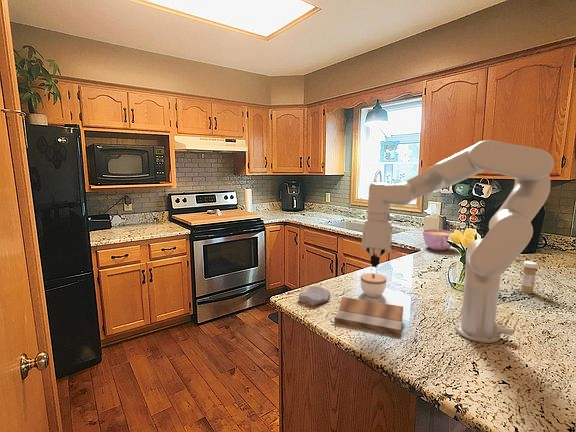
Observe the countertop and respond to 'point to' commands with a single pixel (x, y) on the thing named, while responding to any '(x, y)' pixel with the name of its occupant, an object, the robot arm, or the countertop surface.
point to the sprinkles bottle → (528, 277)
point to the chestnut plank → (371, 308)
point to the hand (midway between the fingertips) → (374, 266)
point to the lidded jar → (373, 284)
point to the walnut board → (368, 322)
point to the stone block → (314, 295)
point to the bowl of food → (436, 239)
